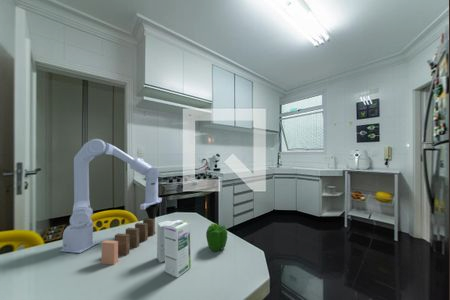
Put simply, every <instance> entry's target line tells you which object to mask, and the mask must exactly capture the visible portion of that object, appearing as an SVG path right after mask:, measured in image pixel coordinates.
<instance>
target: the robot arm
mask: <svg viewBox="0 0 450 300" xmlns="http://www.w3.org/2000/svg"><path fill="white" fill-rule="evenodd" d="M102 154H105V155H108V156H109V155H111V156H114V157H117V158H118V159H120V160H122V161H123V162H125V163H127V164H129V167H130V169H132V170H133V171H135V172H137V173H138V174H139V175H142V176H144V177H145V201H144V202H143V203H142V204H140V205H139V207H140V209H139V210H145V212H146V214H147V219H155V220H156V215H157V213H158V210H159V207H160V204H159V203H161V202H163V201H162V200H163V199H162V197H159V177H160V171H159V170H158V168H155V167H154V166H153V164H150V163H147V162H146V161H144V158H139V157H136V158H135V157H132V156H131V155H129V154H127V152H124V151H123V150H122V149H120V148H118V147H117V146H115V145H113V144H111V143H108V142H105V141H104V140H102V139H100V138H93V139H90V140H89V141H87V142H85V143H84V144H83V145H82V147H81V148H80V149H79V151H78V152H77V153H76V155H75V156H74V158H73V193H74V195H73V206H72V214H71V215H70V217H69V225H67V226H66V227H65V229H64V230H63V232H62V233H63V234H62V248H61V249H59V251H60V252H66V253H75V254H81V253H83V252H85V251H86V250H88V249H90V248H92V247H94V246H96V245H97V244H98V243H99V241H93V239H94V238H93V237H94V236H93V235H94V221H93V220H92V216H93V213H94V211H93V208H92V207H91V203H90V169H89V168H90V166H89V165H90V162H91V161H92V160H94V159H95V158H96V157H98V156H100V155H102Z"/></svg>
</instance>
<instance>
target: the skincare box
mask: <svg viewBox="0 0 450 300" xmlns="http://www.w3.org/2000/svg"><path fill="white" fill-rule="evenodd" d="M175 221H176V220H173V219H172V220H165V221H162V222H161V221H160V222H157V229H156V230H157V231H156V233H157V234H156V239H157V241H156V244H157V245H156V258H157V260H158V262H159V263H165V236H164V226H165V225H168V224H170V223H172V222H175Z"/></svg>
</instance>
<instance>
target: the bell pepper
mask: <svg viewBox="0 0 450 300" xmlns="http://www.w3.org/2000/svg"><path fill="white" fill-rule="evenodd" d="M205 234H206V235H205V237H206V242H207V246H208V249H209V250H210V251H211V252H218V251H220V250H224V249H225V247H226V245H227V240H228V230H227V227H226V225H222V226H221V225H219V224H217V223H215V222H212V223H211V224H210V225H209V226H208V227H207V230H206V232H205Z"/></svg>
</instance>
